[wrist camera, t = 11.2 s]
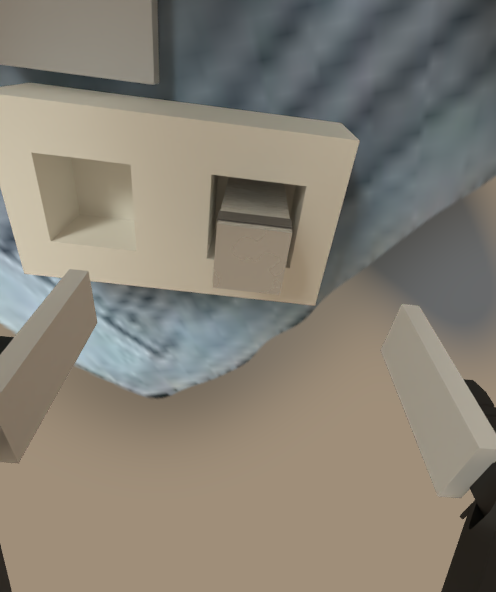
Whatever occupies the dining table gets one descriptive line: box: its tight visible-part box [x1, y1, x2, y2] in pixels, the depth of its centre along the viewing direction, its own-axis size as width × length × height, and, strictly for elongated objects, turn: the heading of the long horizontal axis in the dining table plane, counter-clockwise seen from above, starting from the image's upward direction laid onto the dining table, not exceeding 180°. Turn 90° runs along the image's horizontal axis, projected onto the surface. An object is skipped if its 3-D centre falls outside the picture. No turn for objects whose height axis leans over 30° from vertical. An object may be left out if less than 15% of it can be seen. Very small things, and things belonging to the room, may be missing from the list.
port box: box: [0, 82, 359, 306], centre depth 27 cm, size 22×12×6 cm, turn 83°
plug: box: [213, 177, 293, 295], centre depth 24 cm, size 4×4×10 cm
